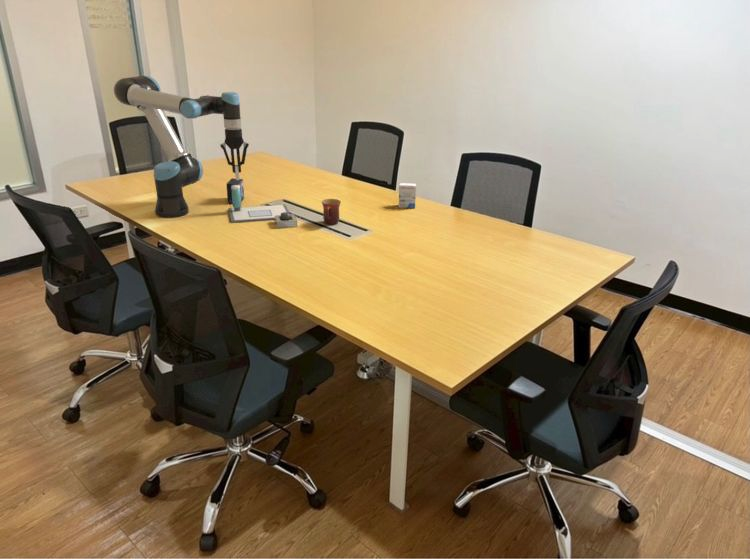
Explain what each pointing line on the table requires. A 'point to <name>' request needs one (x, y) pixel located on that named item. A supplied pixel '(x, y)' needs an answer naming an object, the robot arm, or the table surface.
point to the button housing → (285, 222)
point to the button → (285, 216)
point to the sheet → (256, 213)
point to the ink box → (407, 195)
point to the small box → (229, 191)
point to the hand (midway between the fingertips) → (237, 179)
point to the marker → (236, 197)
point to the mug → (331, 211)
